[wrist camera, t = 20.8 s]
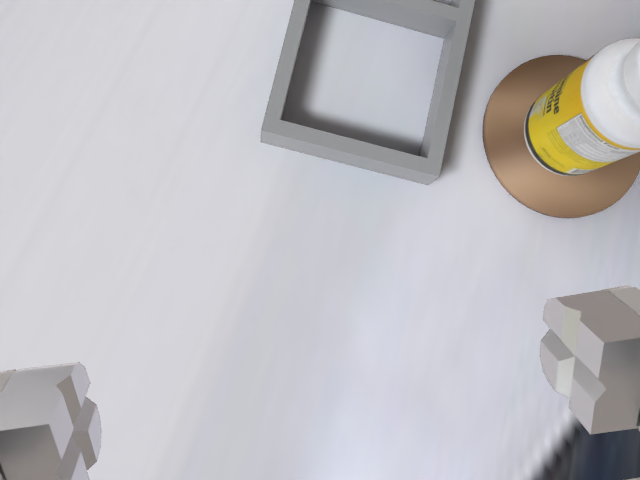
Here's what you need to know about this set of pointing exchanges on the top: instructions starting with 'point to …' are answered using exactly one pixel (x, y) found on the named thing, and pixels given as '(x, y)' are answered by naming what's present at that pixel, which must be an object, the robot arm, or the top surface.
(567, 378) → the robot arm
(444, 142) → the parts tray
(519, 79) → the walnut coaster
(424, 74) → the top surface
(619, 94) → the pill bottle
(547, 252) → the top surface
